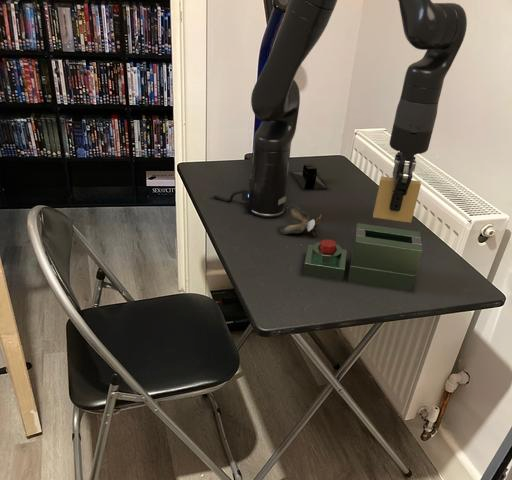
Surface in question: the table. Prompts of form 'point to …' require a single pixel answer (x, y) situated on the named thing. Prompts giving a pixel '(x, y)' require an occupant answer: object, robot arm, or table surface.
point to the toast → (385, 200)
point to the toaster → (384, 256)
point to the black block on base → (308, 178)
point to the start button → (327, 246)
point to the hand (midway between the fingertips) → (394, 207)
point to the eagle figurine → (302, 218)
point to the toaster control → (325, 263)
